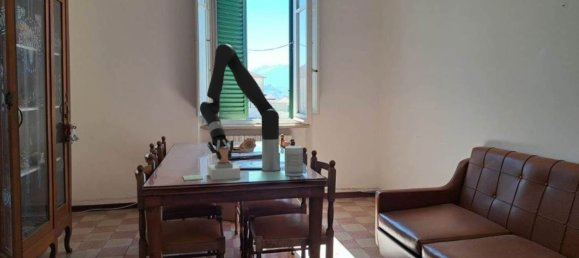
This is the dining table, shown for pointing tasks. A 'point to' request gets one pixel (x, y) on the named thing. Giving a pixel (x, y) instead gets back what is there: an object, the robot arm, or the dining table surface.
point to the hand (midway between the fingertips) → (225, 158)
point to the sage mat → (192, 177)
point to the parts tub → (224, 171)
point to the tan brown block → (223, 155)
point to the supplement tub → (293, 160)
